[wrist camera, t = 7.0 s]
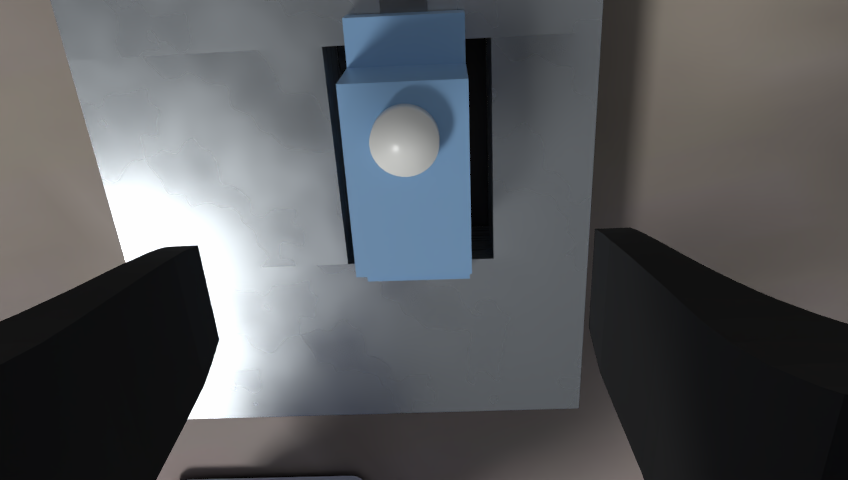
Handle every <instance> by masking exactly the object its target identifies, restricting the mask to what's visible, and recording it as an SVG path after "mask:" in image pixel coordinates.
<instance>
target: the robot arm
mask: <svg viewBox="0 0 848 480" xmlns="http://www.w3.org/2000/svg"><path fill="white" fill-rule="evenodd" d="M589 329H590V333H591V338H592V342H593V346H594V350H595V354H596V358H597V362H598V366H599V369H600V373H601V375H602V378H603V380H604V383H605V385H606V388H607V390H608V393H609V395H610V398H611V400H612V403H613V405H614V407H615V410H616V412H617V415H618V417H619V419H620V422H621V424H622V427H623V429H624V431H625V434H626V436H627V439H628V441H629V443H630V446H631V448H632V451H633V453H634V455H635V458H636V460H637V463H638V465H639V467H640V470H641V472H642V475H643V478H644V480H848V324H847V323H843V322H840V321H837V320H834V319H831V318H827V317H824V316H821V315H818V314H815V313H813V312H810V311H807V310H804V309H802V308H799V307H796V306H794V305H791V304H788V303H785V302H783V301H780V300H777V299H775V298H772V297H770V296H768V295H765V294H763V293H760V292H758V291H756V290H754V289H751V288H749V287H747V286H745V285H743V284H741V283H738V282H736V281H734V280H732V279H730V278H728V277H726V276H723V275H721V274H719V273H717V272H715V271H713V270H711V269H710V268H708V267H706V266H704V265H702V264H700V263H698V262H696V261H694V260H692V259H691V258H689V257H687V256H685V255H683V254H681V253H679V252H678V251H676V250H674V249H672V248H670V247H668V246H667V245H665V244H663V243H661V242H659V241H657V240H656V239H654V238H652V237H650V236H648V235H646V234H644V233H642V232H640V231H638V230H635V229H632V228H610V229H595V239H594V255H593V271H592V286H591V302H590V318H589ZM218 342H219V335H218V331H217V326H216V322H215V318H214V313H213V309H212V304H211V300H210V296H209V291H208V287H207V283H206V278H205V274H204V270H203V265H202V261H201V256H200V252H199V248H198V245H194V246H170V247H163V248H159V249H156V250H153V251H151V252H148V253H146V254H143V255H141V256H139V257H137V258H134V259H132V260H130V261H128V262H126V263H124V264H122V265H120V266H118V267H116V268H114V269H112V270H110V271H107V272H105V273H103V274H101V275H99V276H97V277H95V278H93V279H91V280H89V281H87V282H85V283H83V284H81V285H79V286H77V287H75V288H73V289H71V290H69V291H67V292H65V293H62V294H60V295H58V296H56V297H54V298H52V299H49V300H47V301H45V302H43V303H41V304H38V305H36V306H34V307H32V308H30V309H28V310H25V311H23V312H21V313H19V314H17V315H14V316H12V317H10V318H7V319H5V320H3V321H0V480H156V479H157V477H158V475H159V473H160V471H161V469H162V467H163V466H164V464H165V462H166V460H167V458H168V456H169V454H170V452H171V450H172V448H173V446H174V444H175V442H176V440H177V438H178V437H179V435H180V433H181V431H182V429H183V427H184V425H185V423H186V421H187V419H188V417H189V415H190V413H191V411H192V409H193V407H194V405H195V403H196V401H197V399H198V397H199V395H200V393H201V391H202V389H203V387H204V385H205V383H206V380H207V377H208V374H209V371H210V368H211V365H212V362H213V359H214V356H215V352H216V349H217V346H218ZM189 480H362V479H361V478H359V477H357V476H319V477H276V478H232V479H189Z"/></svg>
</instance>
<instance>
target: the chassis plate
mask: <svg viewBox="0 0 848 480" xmlns="http://www.w3.org/2000/svg"><path fill="white" fill-rule="evenodd" d="M50 1H51V4H52V8H53V11H54V15H55V18H56V22H57V25H58V28H59V32H60V35H61V39H62V42H63V46H64V49H65V53H66V56H67V60H68V63H69V67H70V70H71V74H72V77H73V80H74V84H75V87H76V91H77V94H78V98H79V101H80V105H81V108H82V112H83V115H84V119H85V122H86V126H87V129H88V133H89V136H90V139H91V143H92V146H93V150H94V153H95V157H96V160H97V164H98V167H99V171H100V174H101V178H102V181H103V185H104V188H105V192H106V195H107V198H108V202H109V205H110V209H111V212H112V216H113V219H114V223H115V226H116V230H117V233H118V237H119V240H120V244H121V247H122V250H123V254H124V257H125V261H126V262H128V261H130V260H132V259H134V258H137V257H139V256H141V255H143V254H146V253H148V252H151V251H153V250H156V249H159V248H163V247H170V246H194V245H198V248H199V252H200V256H201V261H202V265H203V270H204V274H205V278H206V283H207V287H208V291H209V296H210V300H211V304H212V309H213V313H214V318H215V322H216V326H217V331H218V335H219V342H218V346H217V349H216V352H215V356H214V359H213V362H212V365H211V368H210V371H209V374H208V377H207V380H206V383H205V385H204V387H203V389H202V391H201V393H200V395H199V397H198V399H197V401H196V403H195V405H194V407H193V409H192V411H191V413H190V415H189V417H188V419H209V418H245V417H282V416H318V415H354V414H391V413H427V412H464V411H500V410H536V409H573V408H579V396H580V380H581V363H582V346H583V330H584V313H585V296H586V280H587V263H588V247H589V230H590V213H591V197H592V180H593V163H594V147H595V130H596V114H597V97H598V80H599V64H600V47H601V30H602V14H603V0H50ZM446 10H464V12H465V39H473V38H486V87H487V157H488V226H471V251H472V274H470V279H439V280H405V281H372V282H368V278H367V277H356V269H355V260H354V250H353V241H352V232H351V222H350V213H349V203H348V194H347V184H346V175H345V166H344V156H343V147H342V137H341V128H340V119H339V109H338V100H337V90H336V83H337V82H338V80H339V79H340V70H339V61H338V52H337V46H344V45H345V43H344V33H343V23H342V18H343V17H344V16H345V15H362V14H383V13H404V12H425V11H446Z"/></svg>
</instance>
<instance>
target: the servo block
mask: <svg viewBox="0 0 848 480" xmlns="http://www.w3.org/2000/svg"><path fill="white" fill-rule="evenodd" d="M342 23H343V33H344V43H345V53H346V64H347V69H346V70H345V72H344V73H343V75H342V76H341V77H340V79H339V80H338V82H337V83H336V90H337V100H338V109H339V119H340V128H341V137H342V147H343V156H344V166H345V175H346V184H347V194H348V203H349V213H350V222H351V232H352V241H353V250H354V260H355V269H356V277H367V278H368V282H372V281H405V280H439V279H470V274H472V251H471V194H470V137H469V80H468V73H467V68H466V56H465V12H464V10H446V11H425V12H404V13H383V14H362V15H345V16H344V17H343V18H342Z"/></svg>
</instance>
